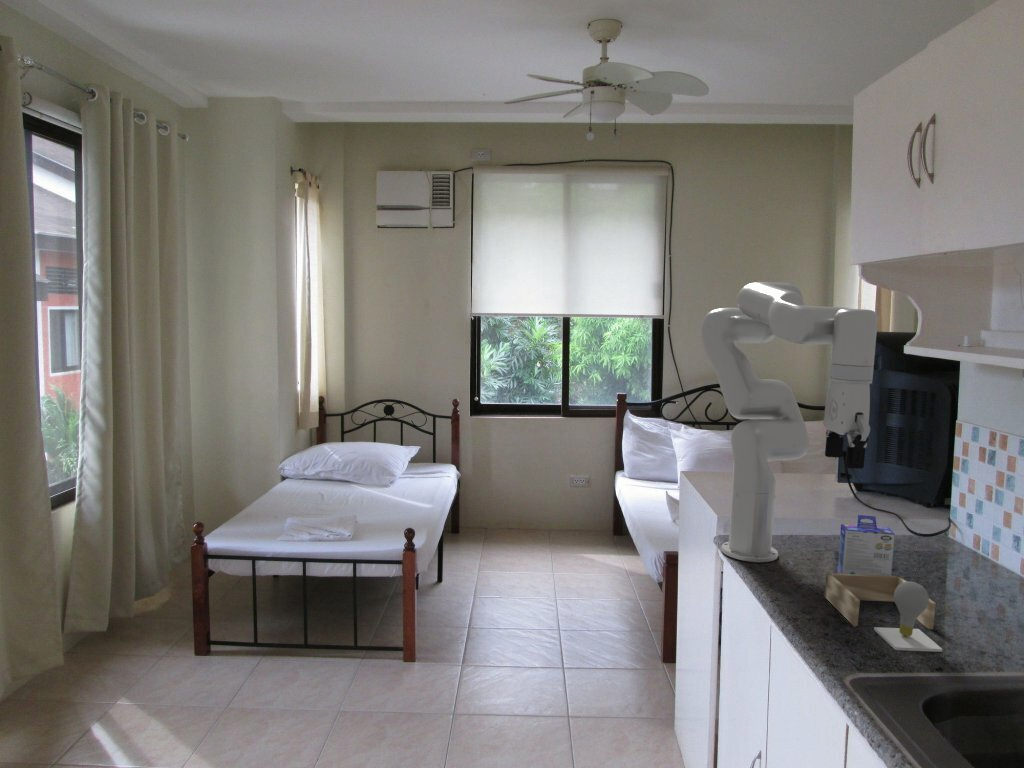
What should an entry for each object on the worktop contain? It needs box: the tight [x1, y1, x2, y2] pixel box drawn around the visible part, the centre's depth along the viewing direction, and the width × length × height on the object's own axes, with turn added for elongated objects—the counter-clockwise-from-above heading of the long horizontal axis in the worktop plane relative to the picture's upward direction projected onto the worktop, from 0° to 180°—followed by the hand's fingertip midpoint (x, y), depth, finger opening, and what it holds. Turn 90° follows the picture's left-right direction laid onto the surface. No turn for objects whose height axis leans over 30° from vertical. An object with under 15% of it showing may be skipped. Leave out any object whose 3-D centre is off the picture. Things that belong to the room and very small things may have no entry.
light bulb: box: [893, 581, 930, 637], centre depth 137 cm, size 5×6×10 cm
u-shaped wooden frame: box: [824, 572, 936, 630], centre depth 149 cm, size 14×15×5 cm
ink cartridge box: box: [837, 514, 896, 576], centre depth 163 cm, size 10×6×14 cm, turn 78°
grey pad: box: [873, 626, 943, 653], centre depth 137 cm, size 8×8×1 cm
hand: (843, 462), depth 150 cm, fingers open, 9 cm apart
